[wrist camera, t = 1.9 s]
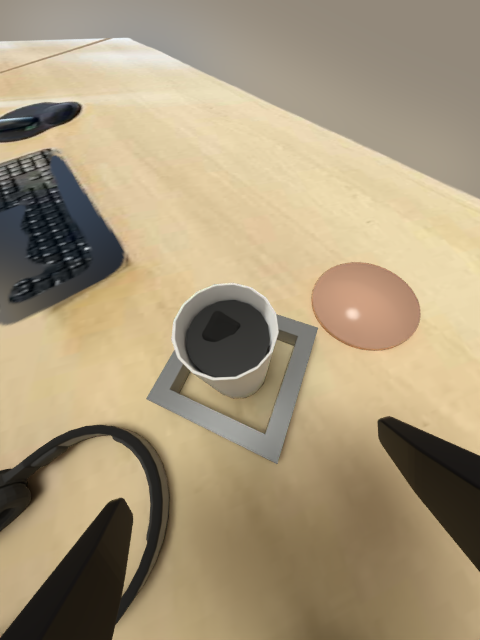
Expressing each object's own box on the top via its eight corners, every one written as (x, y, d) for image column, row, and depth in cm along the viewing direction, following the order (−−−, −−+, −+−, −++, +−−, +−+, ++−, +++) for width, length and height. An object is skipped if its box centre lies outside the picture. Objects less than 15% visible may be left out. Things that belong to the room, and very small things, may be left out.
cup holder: (312, 337, 23) (318, 327, 21) (275, 460, 19) (277, 464, 16) (212, 304, 26) (207, 292, 24) (157, 402, 22) (146, 398, 19)
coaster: (420, 279, 26) (423, 276, 25) (412, 366, 21) (416, 364, 21) (324, 256, 28) (325, 253, 28) (299, 329, 24) (300, 326, 23)
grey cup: (193, 380, 22) (149, 345, 13) (228, 328, 25) (211, 269, 16) (250, 417, 20) (242, 404, 11) (282, 357, 23) (297, 307, 14)
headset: (-352, 613, 10) (94, 376, 16) (-90, 541, 18) (142, 402, 23) (-732, 1459, 4) (173, 611, 10) (-107, 809, 12) (201, 541, 18)
